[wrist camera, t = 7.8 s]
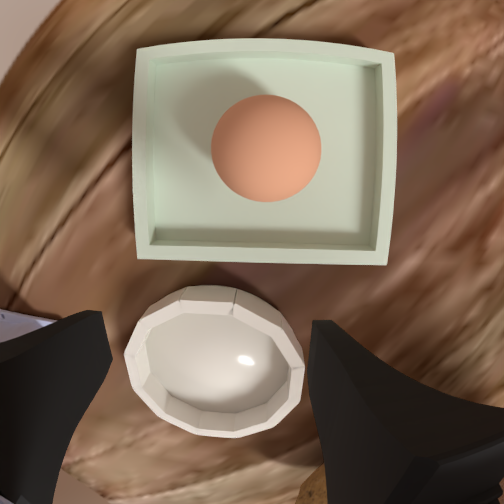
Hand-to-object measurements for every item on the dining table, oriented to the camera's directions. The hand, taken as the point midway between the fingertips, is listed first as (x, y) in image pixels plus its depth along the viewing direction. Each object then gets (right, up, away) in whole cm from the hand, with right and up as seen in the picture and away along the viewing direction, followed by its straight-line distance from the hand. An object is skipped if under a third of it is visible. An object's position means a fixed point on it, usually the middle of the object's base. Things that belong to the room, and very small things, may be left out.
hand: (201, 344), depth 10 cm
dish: (-1, -5, +11) cm, 12 cm away
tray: (+2, +9, +7) cm, 11 cm away
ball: (+2, +8, +6) cm, 11 cm away
